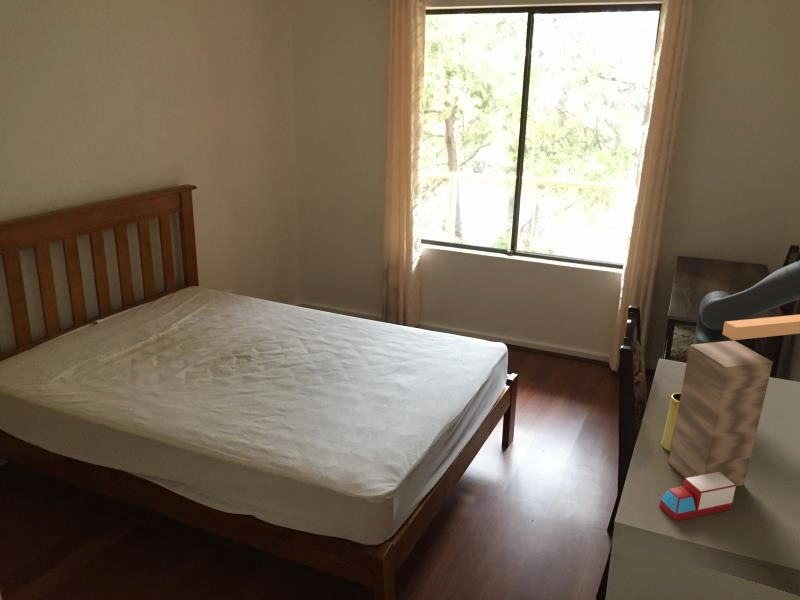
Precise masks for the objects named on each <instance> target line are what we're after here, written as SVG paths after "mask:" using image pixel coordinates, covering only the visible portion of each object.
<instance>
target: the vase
mask: <svg viewBox="0 0 800 600" xmlns="http://www.w3.org/2000/svg"><path fill="white" fill-rule="evenodd" d="M680 397H681V392H675V393H674V392H673V394H671V396H670V400H669V405H668V406H669V407H668V412H667V416H666V421H665V426H664V429H663V433H662V440H661V442H660V445H661V447H662V448H663V449H665V450H666V451H667V452H670V451H671V446H672V440H673V435H674V429H675V424H676V418H677V413H678V408H679V402H680Z"/></svg>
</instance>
